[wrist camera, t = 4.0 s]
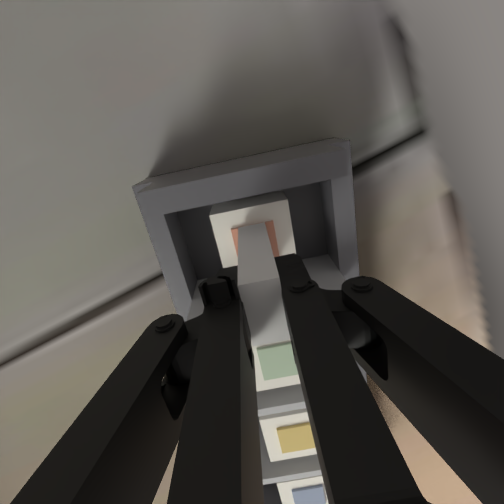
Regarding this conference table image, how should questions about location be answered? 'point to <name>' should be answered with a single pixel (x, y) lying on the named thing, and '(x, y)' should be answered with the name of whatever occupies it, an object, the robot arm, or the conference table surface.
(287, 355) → the key
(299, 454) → the key
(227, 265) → the key
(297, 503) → the key
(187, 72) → the conference table surface
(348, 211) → the keypad
